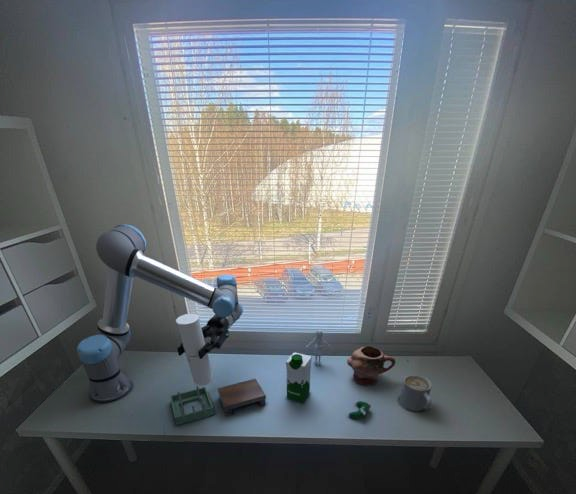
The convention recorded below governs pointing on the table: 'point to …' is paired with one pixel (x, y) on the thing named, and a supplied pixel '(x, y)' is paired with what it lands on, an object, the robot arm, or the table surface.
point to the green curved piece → (361, 410)
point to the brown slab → (241, 395)
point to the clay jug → (368, 364)
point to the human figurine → (318, 345)
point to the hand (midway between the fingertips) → (189, 353)
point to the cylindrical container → (194, 348)
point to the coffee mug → (416, 393)
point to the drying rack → (191, 396)
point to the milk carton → (298, 376)
